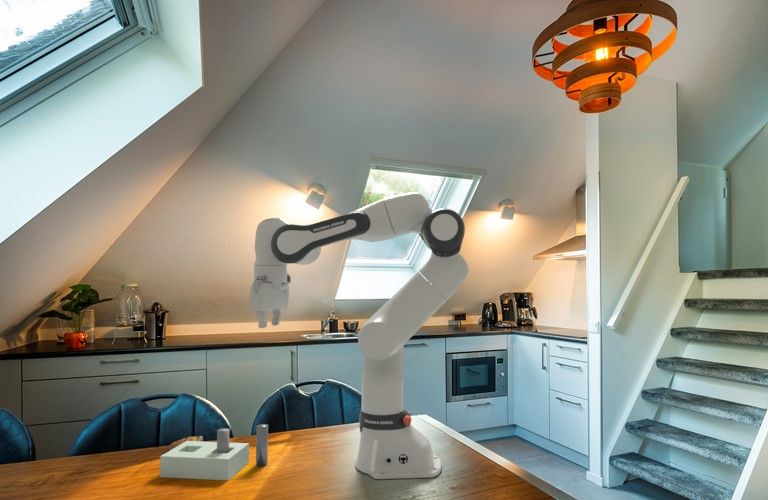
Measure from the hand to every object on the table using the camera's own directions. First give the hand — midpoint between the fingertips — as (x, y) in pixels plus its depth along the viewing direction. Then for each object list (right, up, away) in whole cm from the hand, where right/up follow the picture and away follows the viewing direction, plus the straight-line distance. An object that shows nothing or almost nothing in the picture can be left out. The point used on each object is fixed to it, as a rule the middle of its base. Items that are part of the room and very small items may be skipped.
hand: (269, 326), depth 128 cm
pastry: (-25, -38, +7) cm, 46 cm away
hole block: (-14, -36, -8) cm, 39 cm away
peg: (-1, -36, -5) cm, 36 cm away
